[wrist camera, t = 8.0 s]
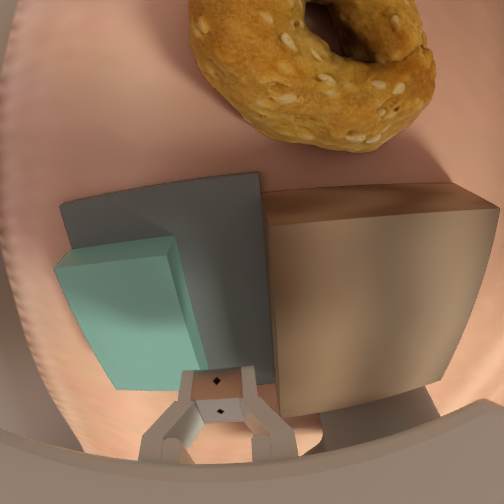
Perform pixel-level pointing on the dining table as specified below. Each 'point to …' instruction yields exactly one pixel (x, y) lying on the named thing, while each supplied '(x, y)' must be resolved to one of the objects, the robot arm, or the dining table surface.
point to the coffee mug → (374, 420)
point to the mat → (199, 255)
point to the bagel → (317, 68)
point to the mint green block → (134, 311)
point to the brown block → (370, 287)
